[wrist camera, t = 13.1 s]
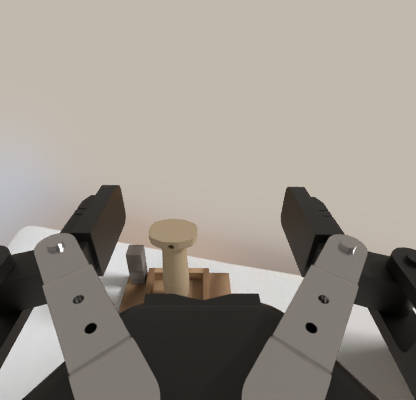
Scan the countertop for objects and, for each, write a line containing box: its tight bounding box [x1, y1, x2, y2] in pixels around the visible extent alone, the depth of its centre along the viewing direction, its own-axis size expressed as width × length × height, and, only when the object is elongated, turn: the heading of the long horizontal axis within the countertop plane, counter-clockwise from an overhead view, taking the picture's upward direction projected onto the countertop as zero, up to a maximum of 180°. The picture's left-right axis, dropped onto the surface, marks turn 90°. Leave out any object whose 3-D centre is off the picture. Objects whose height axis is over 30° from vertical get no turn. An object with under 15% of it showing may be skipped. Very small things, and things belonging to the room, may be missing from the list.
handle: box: [149, 219, 197, 297], centre depth 39 cm, size 5×6×15 cm
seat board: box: [118, 245, 231, 314], centre depth 42 cm, size 18×12×8 cm, turn 91°
